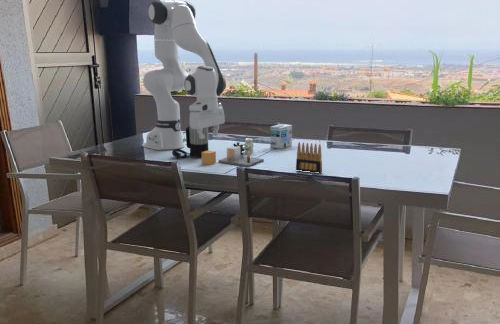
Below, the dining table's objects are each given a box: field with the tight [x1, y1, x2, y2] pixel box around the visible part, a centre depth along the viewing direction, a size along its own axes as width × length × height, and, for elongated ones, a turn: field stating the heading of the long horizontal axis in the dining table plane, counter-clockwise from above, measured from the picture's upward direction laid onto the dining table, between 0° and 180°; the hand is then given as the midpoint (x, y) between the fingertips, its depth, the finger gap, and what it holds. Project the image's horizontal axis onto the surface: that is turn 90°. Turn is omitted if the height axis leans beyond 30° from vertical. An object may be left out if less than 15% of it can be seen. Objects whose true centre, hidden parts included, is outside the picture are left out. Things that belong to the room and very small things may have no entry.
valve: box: [232, 137, 254, 156], centre depth 223 cm, size 7×7×12 cm
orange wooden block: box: [201, 150, 217, 166], centre depth 206 cm, size 4×4×5 cm
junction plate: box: [218, 145, 265, 168], centre depth 207 cm, size 16×12×6 cm
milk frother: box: [171, 123, 209, 159], centre depth 217 cm, size 14×16×15 cm
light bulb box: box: [269, 123, 293, 150], centre depth 238 cm, size 11×7×11 cm, turn 143°
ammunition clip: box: [295, 141, 323, 174], centre depth 189 cm, size 11×2×12 cm, turn 61°
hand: (208, 136), depth 203 cm, fingers open, 8 cm apart
